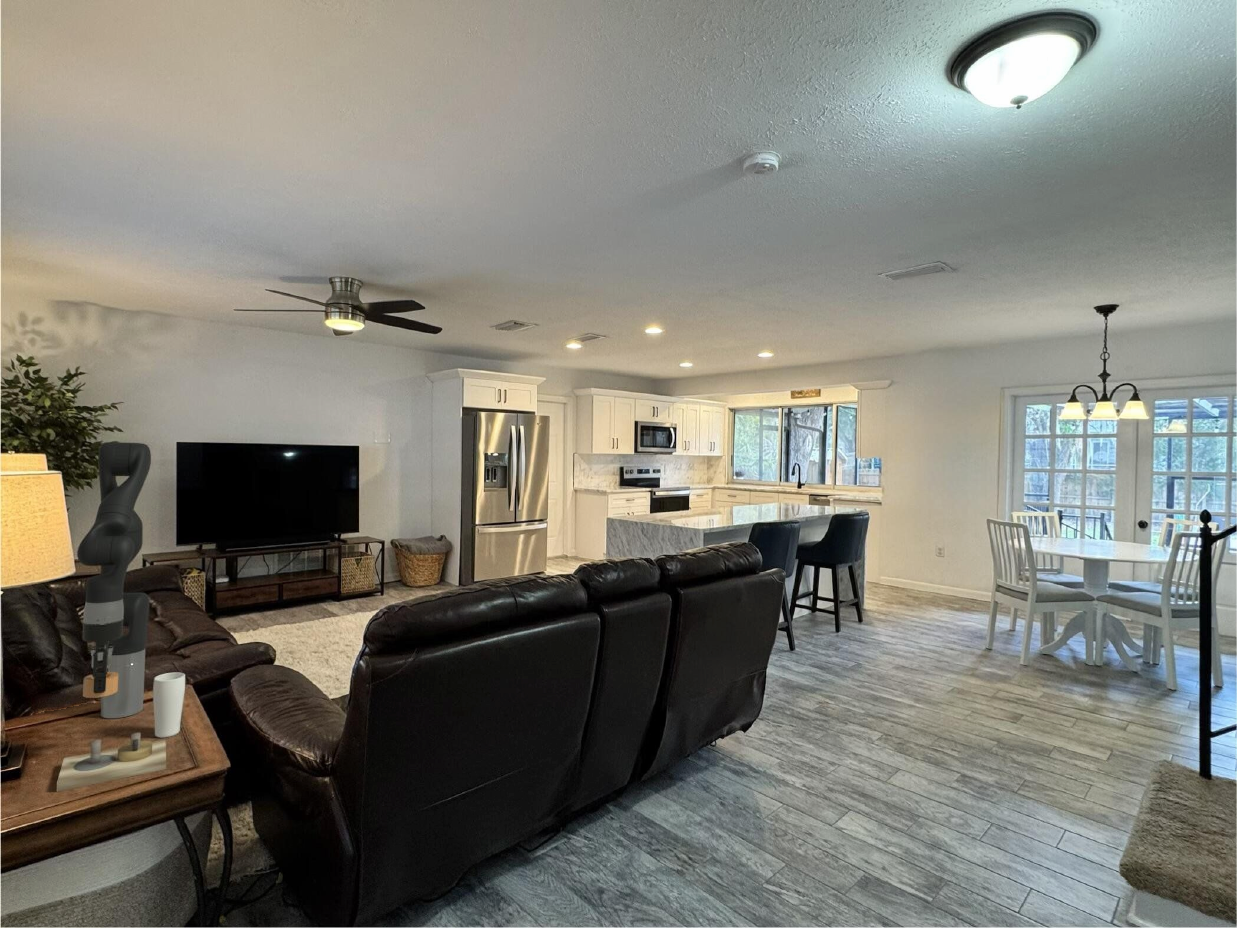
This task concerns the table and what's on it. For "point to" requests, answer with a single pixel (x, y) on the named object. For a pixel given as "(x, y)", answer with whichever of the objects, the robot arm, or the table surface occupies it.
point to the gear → (110, 686)
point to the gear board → (112, 763)
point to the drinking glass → (168, 703)
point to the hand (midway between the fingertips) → (100, 687)
